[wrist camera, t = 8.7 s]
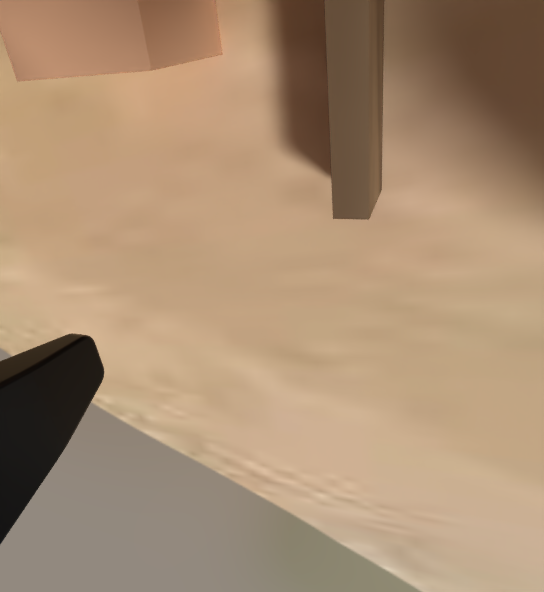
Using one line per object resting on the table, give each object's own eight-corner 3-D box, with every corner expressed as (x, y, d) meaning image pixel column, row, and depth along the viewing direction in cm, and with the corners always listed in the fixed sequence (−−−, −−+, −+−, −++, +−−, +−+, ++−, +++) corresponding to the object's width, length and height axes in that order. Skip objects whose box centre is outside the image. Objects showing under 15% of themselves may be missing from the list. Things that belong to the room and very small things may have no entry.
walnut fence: (414, -352, 11) (401, -449, 9) (397, 190, 18) (387, 219, 15) (-22, -196, 16) (-108, -232, 13) (93, 188, 22) (49, 211, 20)
